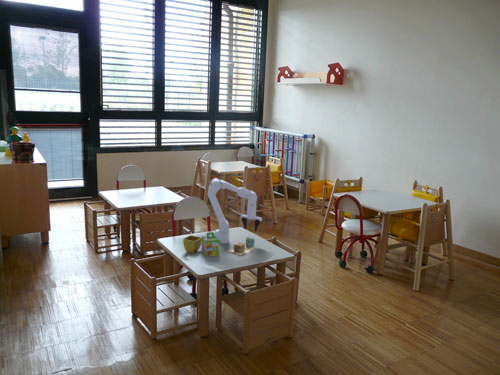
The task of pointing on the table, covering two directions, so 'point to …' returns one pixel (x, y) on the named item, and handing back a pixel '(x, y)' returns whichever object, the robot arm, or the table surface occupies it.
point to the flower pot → (192, 243)
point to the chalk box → (210, 245)
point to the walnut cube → (239, 247)
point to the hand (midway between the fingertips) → (250, 229)
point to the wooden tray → (246, 247)
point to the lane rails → (240, 257)
